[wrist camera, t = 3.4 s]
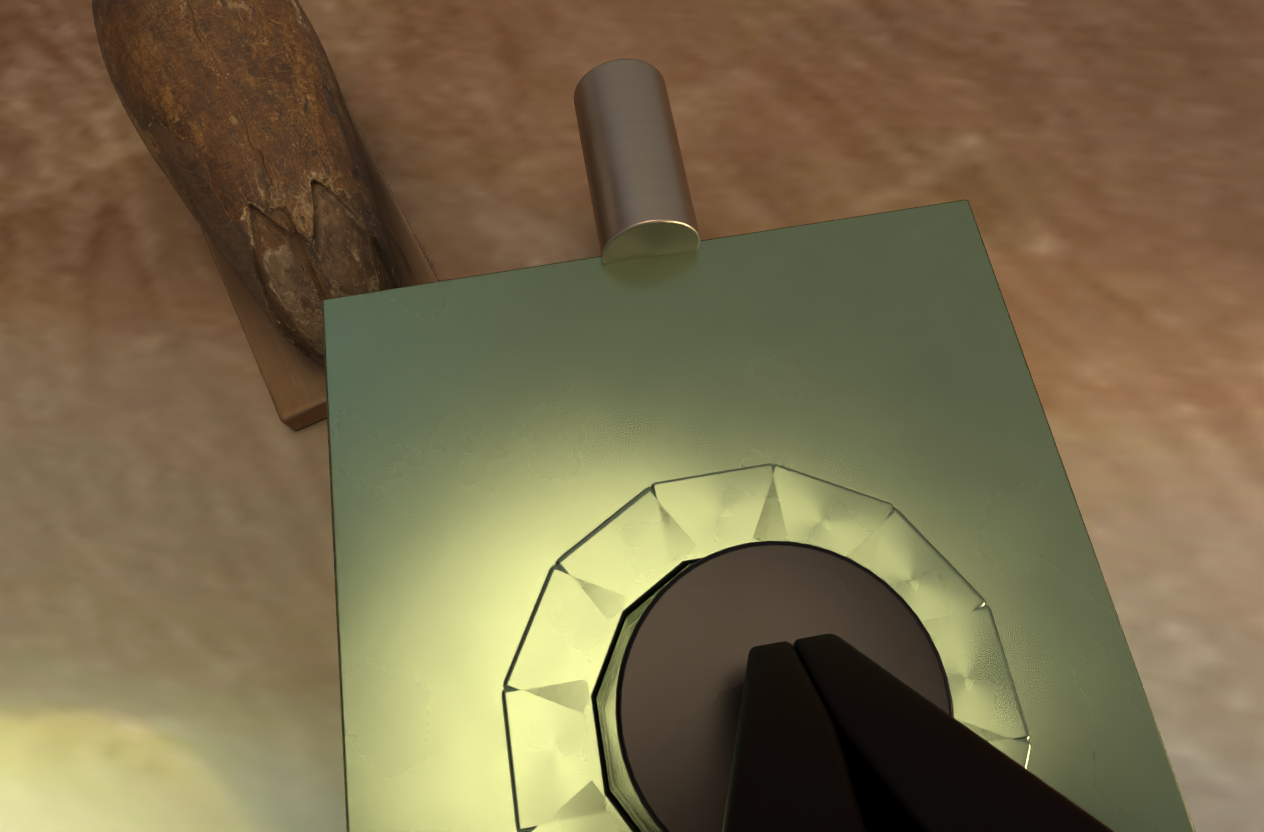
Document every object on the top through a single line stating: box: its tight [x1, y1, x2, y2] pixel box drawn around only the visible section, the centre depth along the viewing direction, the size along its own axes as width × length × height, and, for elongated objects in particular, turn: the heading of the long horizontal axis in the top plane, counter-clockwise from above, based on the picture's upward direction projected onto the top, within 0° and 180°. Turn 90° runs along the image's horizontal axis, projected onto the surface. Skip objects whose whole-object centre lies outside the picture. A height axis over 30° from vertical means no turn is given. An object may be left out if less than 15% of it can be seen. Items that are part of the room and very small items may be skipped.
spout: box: [574, 59, 700, 263], centre depth 17 cm, size 4×2×2 cm, turn 9°
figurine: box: [92, 0, 438, 430], centre depth 19 cm, size 14×4×9 cm, turn 28°
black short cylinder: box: [615, 540, 954, 832], centre depth 11 cm, size 4×4×2 cm
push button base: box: [322, 200, 1195, 832], centre depth 15 cm, size 12×12×7 cm
